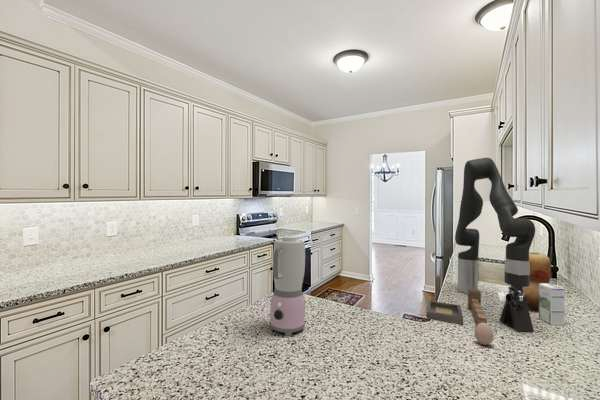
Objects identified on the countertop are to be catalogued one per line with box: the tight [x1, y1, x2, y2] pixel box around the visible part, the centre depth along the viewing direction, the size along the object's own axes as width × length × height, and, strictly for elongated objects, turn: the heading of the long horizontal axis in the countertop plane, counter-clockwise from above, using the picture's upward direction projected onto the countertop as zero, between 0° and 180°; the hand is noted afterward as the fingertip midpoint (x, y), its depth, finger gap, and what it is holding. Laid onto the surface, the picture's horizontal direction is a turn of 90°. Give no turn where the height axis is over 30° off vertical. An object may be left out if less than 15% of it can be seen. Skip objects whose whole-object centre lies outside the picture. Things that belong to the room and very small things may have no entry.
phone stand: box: [499, 293, 535, 333], centre depth 107 cm, size 9×6×12 cm, turn 1°
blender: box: [269, 235, 306, 337], centre depth 99 cm, size 16×12×32 cm
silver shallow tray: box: [426, 299, 464, 326], centre depth 117 cm, size 15×12×3 cm
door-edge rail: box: [467, 289, 488, 326], centre depth 113 cm, size 28×4×8 cm, turn 154°
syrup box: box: [538, 282, 566, 326], centre depth 112 cm, size 6×6×14 cm
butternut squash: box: [523, 251, 552, 310], centre depth 127 cm, size 14×13×25 cm
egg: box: [474, 323, 494, 346], centre depth 92 cm, size 5×5×7 cm
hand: (516, 317), depth 106 cm, fingers closed on phone stand, 3 cm apart
